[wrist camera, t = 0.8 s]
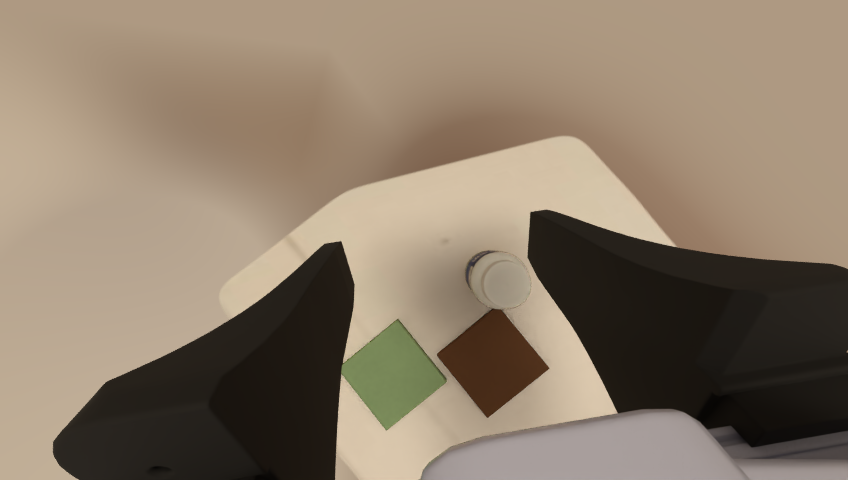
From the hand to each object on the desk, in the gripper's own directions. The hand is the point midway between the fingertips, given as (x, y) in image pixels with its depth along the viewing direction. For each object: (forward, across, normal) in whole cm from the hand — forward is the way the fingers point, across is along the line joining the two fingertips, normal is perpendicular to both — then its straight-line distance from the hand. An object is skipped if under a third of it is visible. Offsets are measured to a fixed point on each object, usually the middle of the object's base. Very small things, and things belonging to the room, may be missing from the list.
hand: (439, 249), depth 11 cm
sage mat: (+13, +6, +24) cm, 28 cm away
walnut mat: (+12, -6, +24) cm, 28 cm away
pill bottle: (+18, -7, +16) cm, 25 cm away
